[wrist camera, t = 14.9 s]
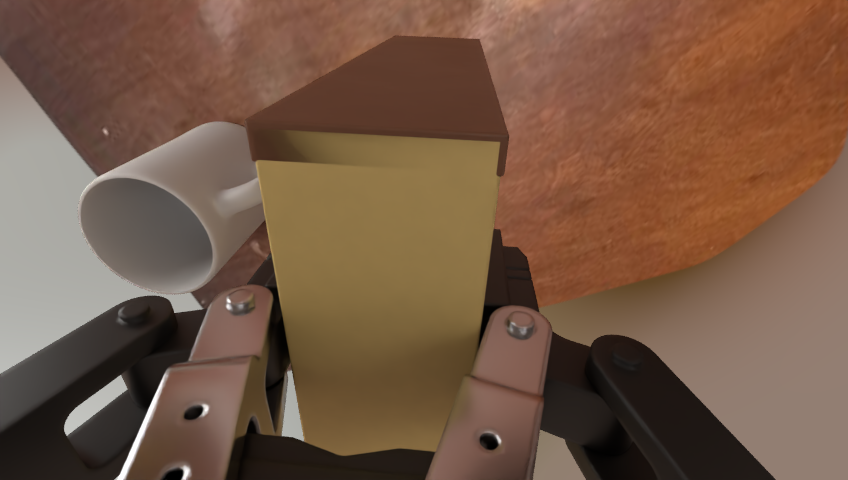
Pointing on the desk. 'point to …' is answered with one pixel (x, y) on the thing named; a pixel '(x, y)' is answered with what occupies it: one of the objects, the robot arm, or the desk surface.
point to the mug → (175, 210)
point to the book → (383, 236)
